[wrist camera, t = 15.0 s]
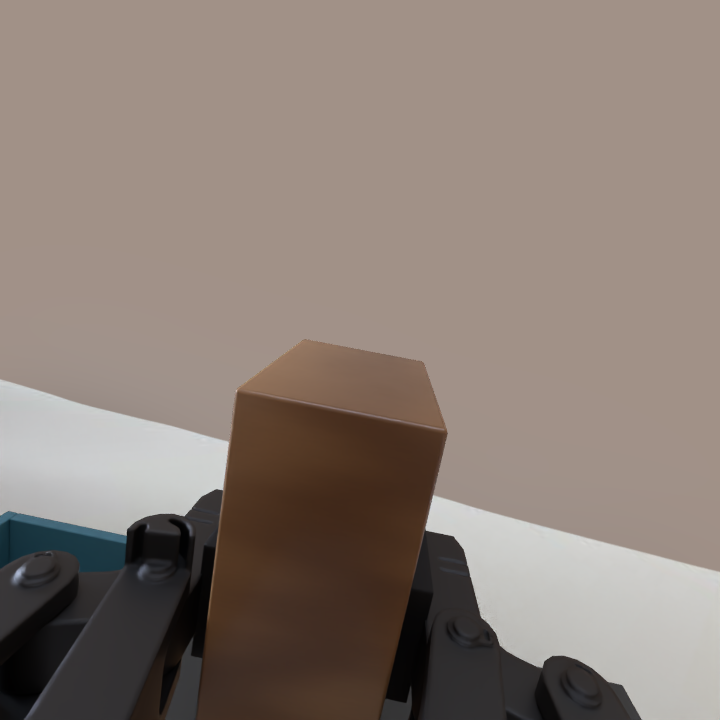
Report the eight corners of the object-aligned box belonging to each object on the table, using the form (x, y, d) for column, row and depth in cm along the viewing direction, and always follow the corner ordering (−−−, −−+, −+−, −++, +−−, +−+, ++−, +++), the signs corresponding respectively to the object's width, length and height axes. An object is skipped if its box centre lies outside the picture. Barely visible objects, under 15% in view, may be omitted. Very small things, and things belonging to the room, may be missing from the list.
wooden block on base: (-24, 1378, 6) (-36, 504, 3) (259, 626, 17) (306, 320, 15) (313, 1475, 5) (611, 641, 3) (367, 650, 17) (434, 344, 15)
